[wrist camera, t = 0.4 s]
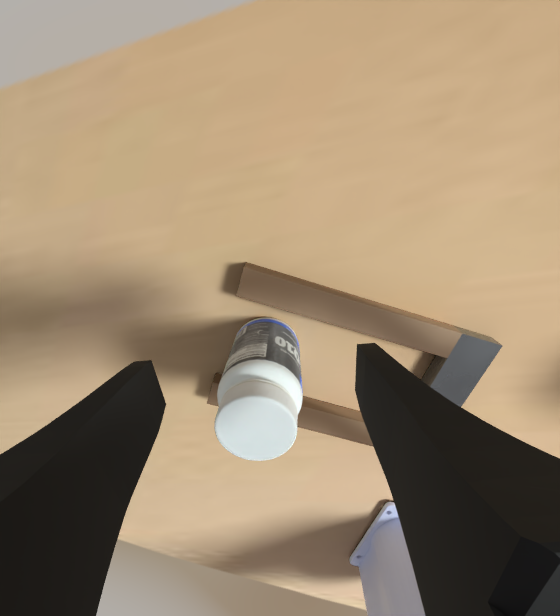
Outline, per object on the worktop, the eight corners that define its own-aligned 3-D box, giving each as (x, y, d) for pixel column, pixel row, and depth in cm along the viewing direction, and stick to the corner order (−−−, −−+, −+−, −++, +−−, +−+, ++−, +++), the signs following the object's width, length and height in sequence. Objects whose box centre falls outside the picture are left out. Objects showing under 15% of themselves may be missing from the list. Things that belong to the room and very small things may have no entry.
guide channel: (386, 439, 25) (391, 451, 24) (210, 393, 24) (206, 403, 23) (453, 325, 21) (462, 333, 20) (246, 262, 20) (243, 266, 19)
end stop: (419, 447, 25) (425, 459, 24) (386, 439, 25) (391, 451, 24) (491, 337, 21) (502, 345, 20) (453, 325, 21) (462, 333, 20)
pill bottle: (308, 359, 22) (320, 452, 15) (251, 380, 23) (234, 478, 16) (283, 305, 21) (281, 376, 13) (223, 329, 22) (187, 410, 14)
